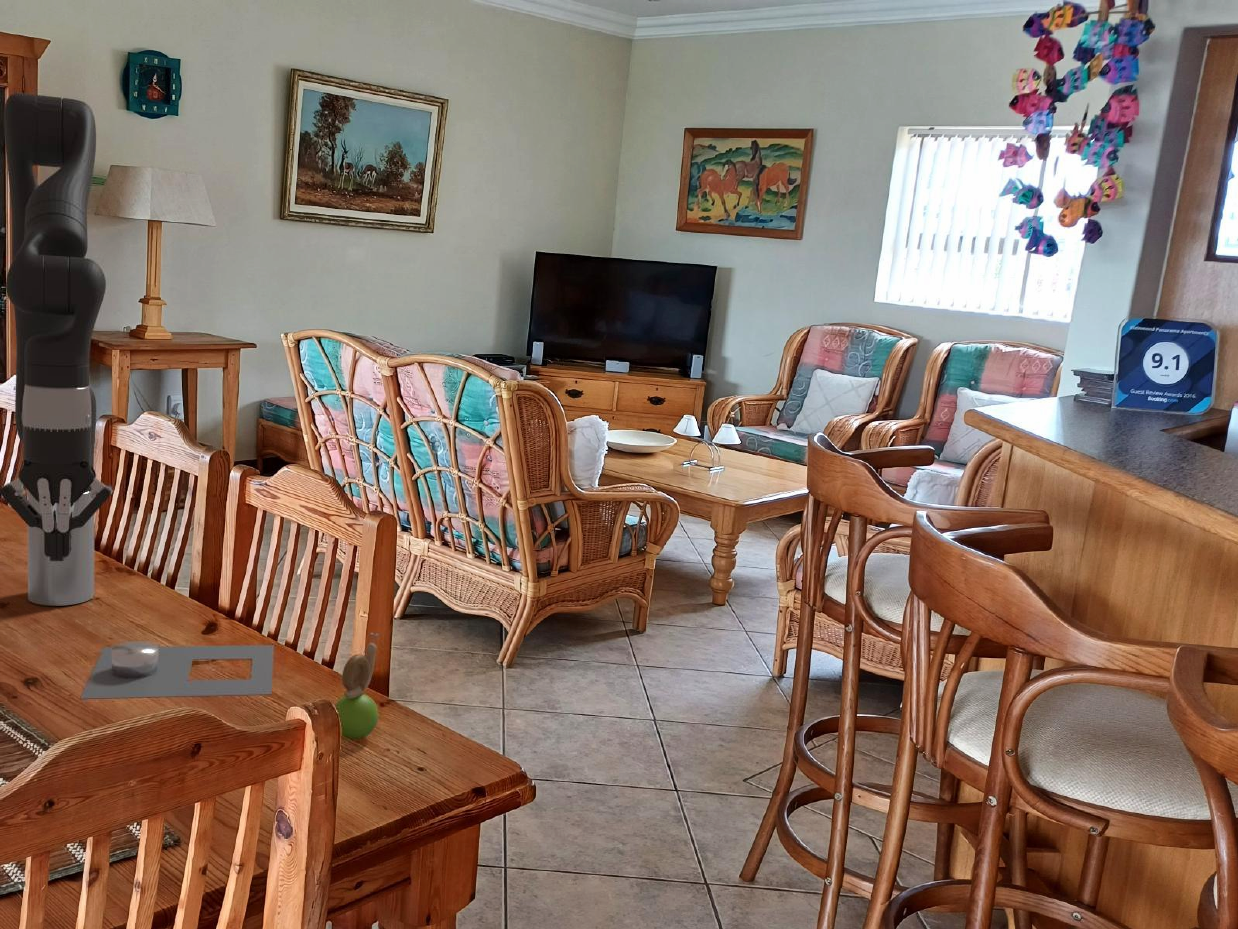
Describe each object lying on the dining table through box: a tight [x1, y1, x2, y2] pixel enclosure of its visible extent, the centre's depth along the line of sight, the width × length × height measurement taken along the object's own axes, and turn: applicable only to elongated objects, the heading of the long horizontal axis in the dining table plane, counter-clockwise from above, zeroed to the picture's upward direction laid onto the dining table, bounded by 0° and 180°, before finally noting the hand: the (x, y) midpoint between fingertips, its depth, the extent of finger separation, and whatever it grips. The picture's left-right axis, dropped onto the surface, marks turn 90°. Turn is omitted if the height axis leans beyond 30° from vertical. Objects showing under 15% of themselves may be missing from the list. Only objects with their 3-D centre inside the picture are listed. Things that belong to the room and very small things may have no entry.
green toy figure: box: [334, 632, 380, 740], centre depth 136 cm, size 5×6×12 cm
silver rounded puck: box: [112, 640, 159, 679], centre depth 147 cm, size 6×6×3 cm
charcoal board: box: [79, 644, 275, 700], centre depth 149 cm, size 22×18×2 cm
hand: (57, 559), depth 142 cm, fingers closed
